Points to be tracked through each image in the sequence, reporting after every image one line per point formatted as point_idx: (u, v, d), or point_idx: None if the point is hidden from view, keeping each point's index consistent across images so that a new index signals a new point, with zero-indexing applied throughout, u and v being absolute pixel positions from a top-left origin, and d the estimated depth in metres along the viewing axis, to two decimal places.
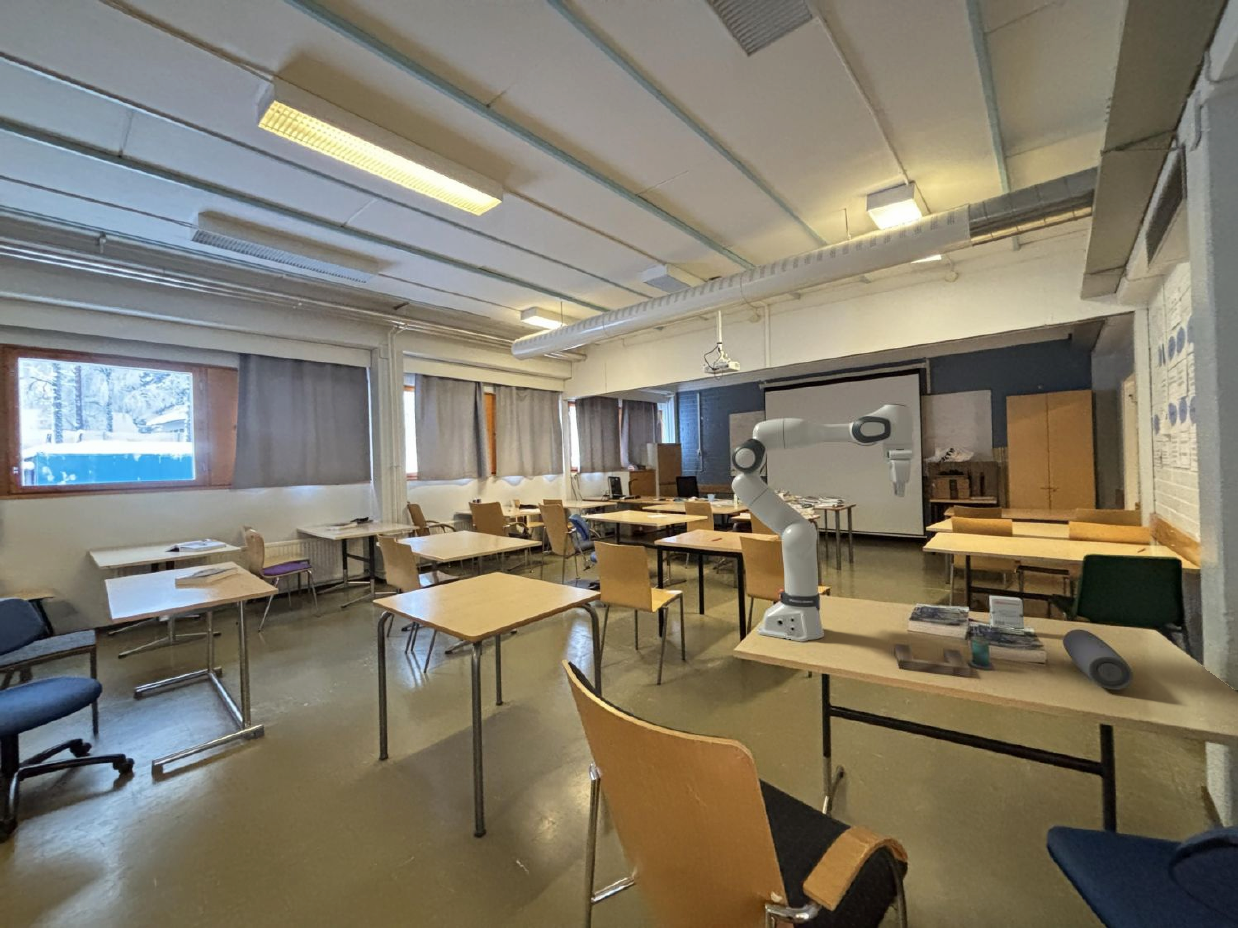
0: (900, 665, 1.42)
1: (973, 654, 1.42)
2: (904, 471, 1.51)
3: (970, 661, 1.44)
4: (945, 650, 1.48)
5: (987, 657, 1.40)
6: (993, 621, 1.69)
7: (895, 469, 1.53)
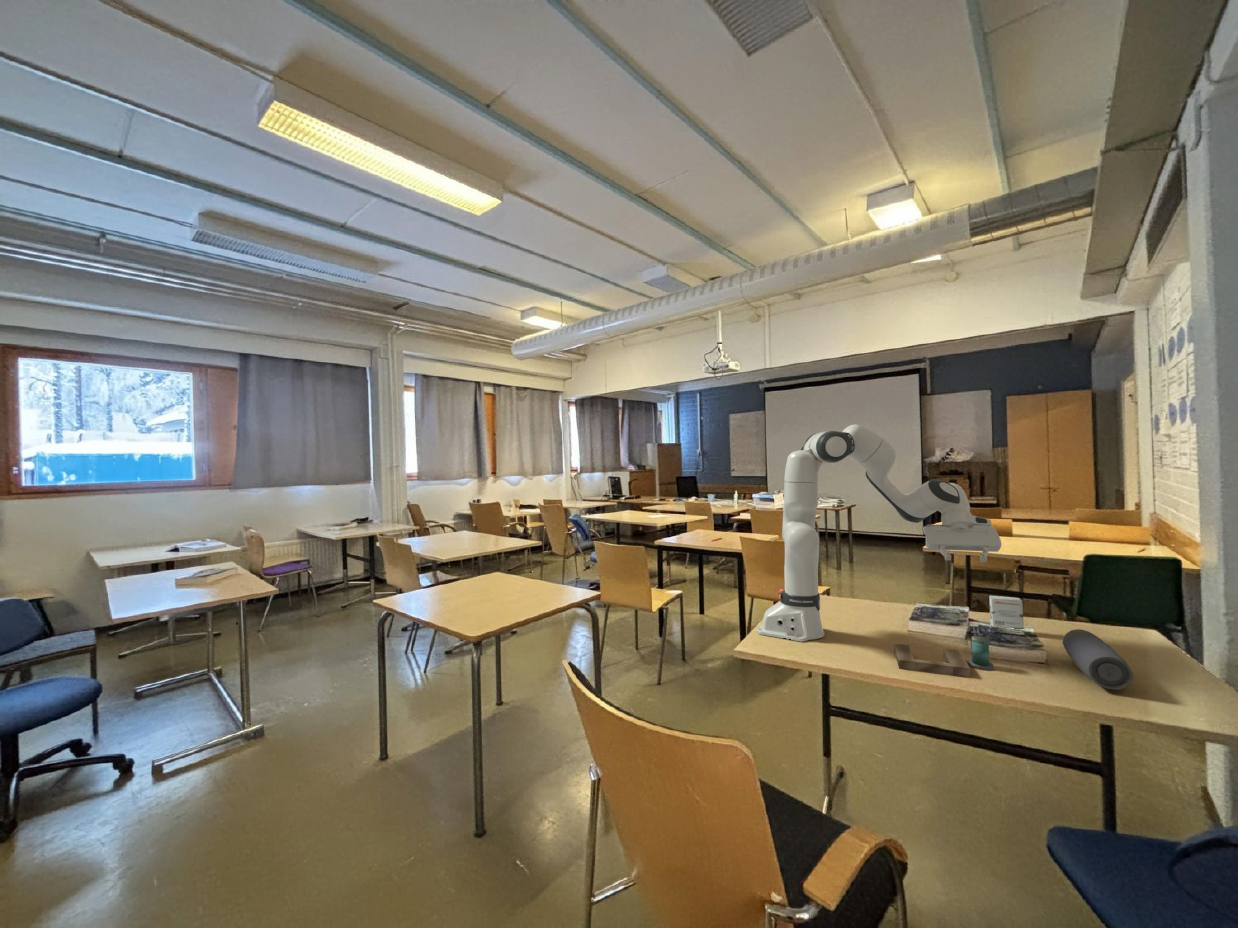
0: (900, 665, 1.42)
1: (973, 654, 1.42)
2: None
3: (970, 661, 1.44)
4: (945, 650, 1.48)
5: (987, 657, 1.40)
6: (993, 621, 1.69)
7: None
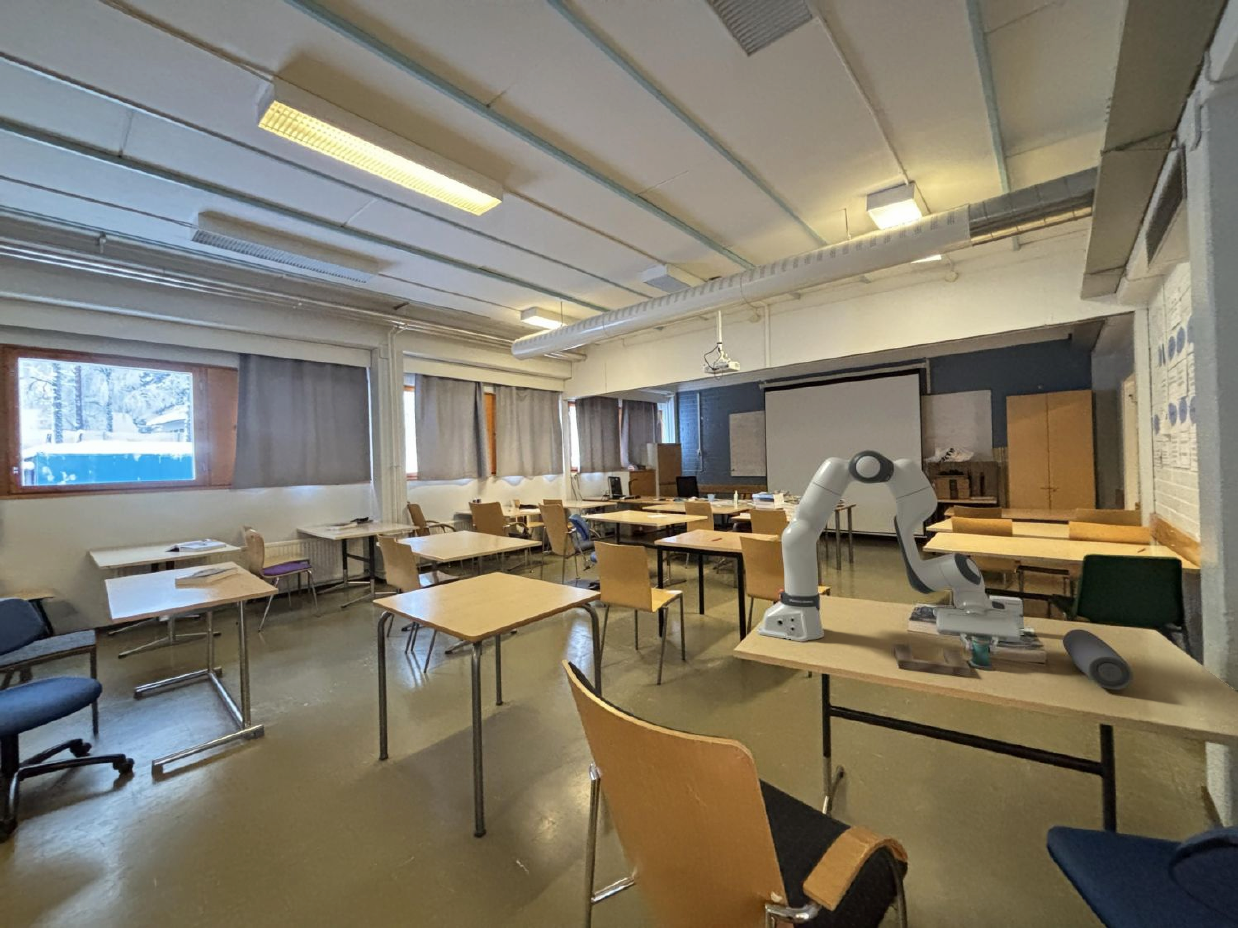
0: (900, 665, 1.42)
1: (973, 654, 1.42)
2: None
3: (970, 661, 1.44)
4: (945, 650, 1.48)
5: (987, 657, 1.40)
6: None
7: None
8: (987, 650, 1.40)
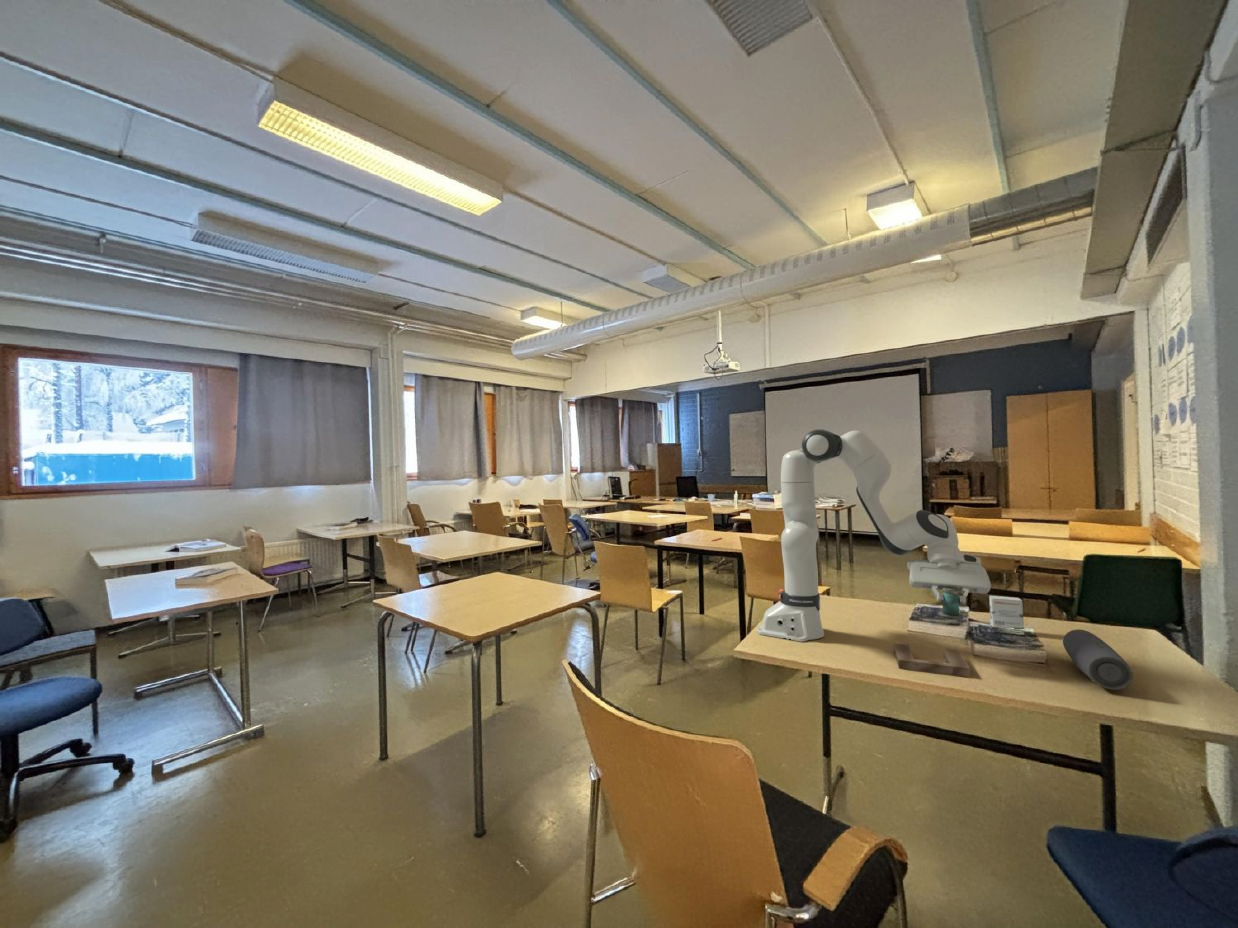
0: (900, 665, 1.42)
1: (943, 604, 1.44)
2: None
3: (941, 612, 1.46)
4: (945, 650, 1.48)
5: (957, 607, 1.42)
6: (993, 621, 1.69)
7: None
8: (957, 600, 1.42)
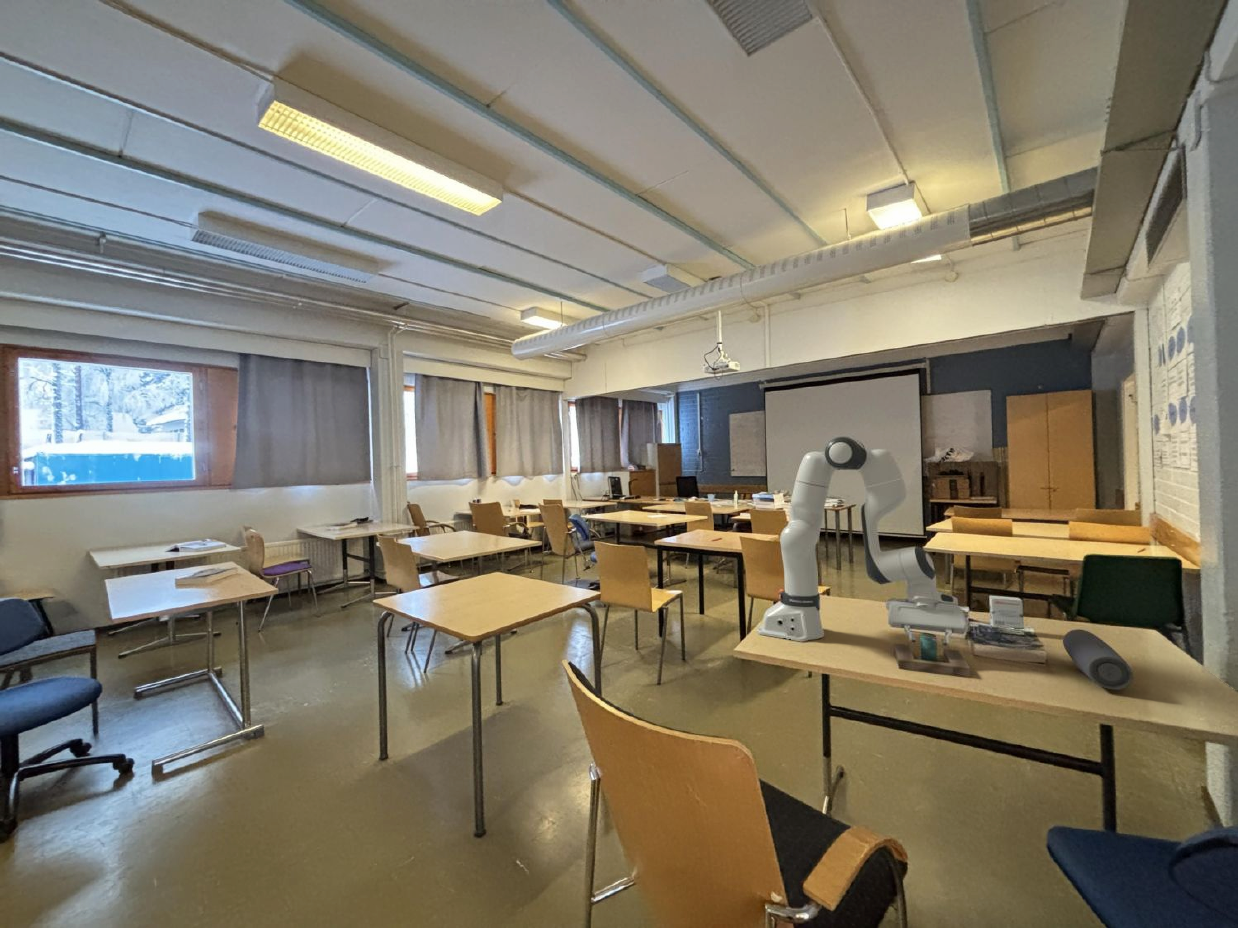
0: (900, 665, 1.42)
1: (921, 650, 1.46)
2: None
3: (919, 657, 1.47)
4: (945, 650, 1.48)
5: (934, 654, 1.44)
6: (993, 621, 1.69)
7: (964, 615, 1.45)
8: (934, 647, 1.44)
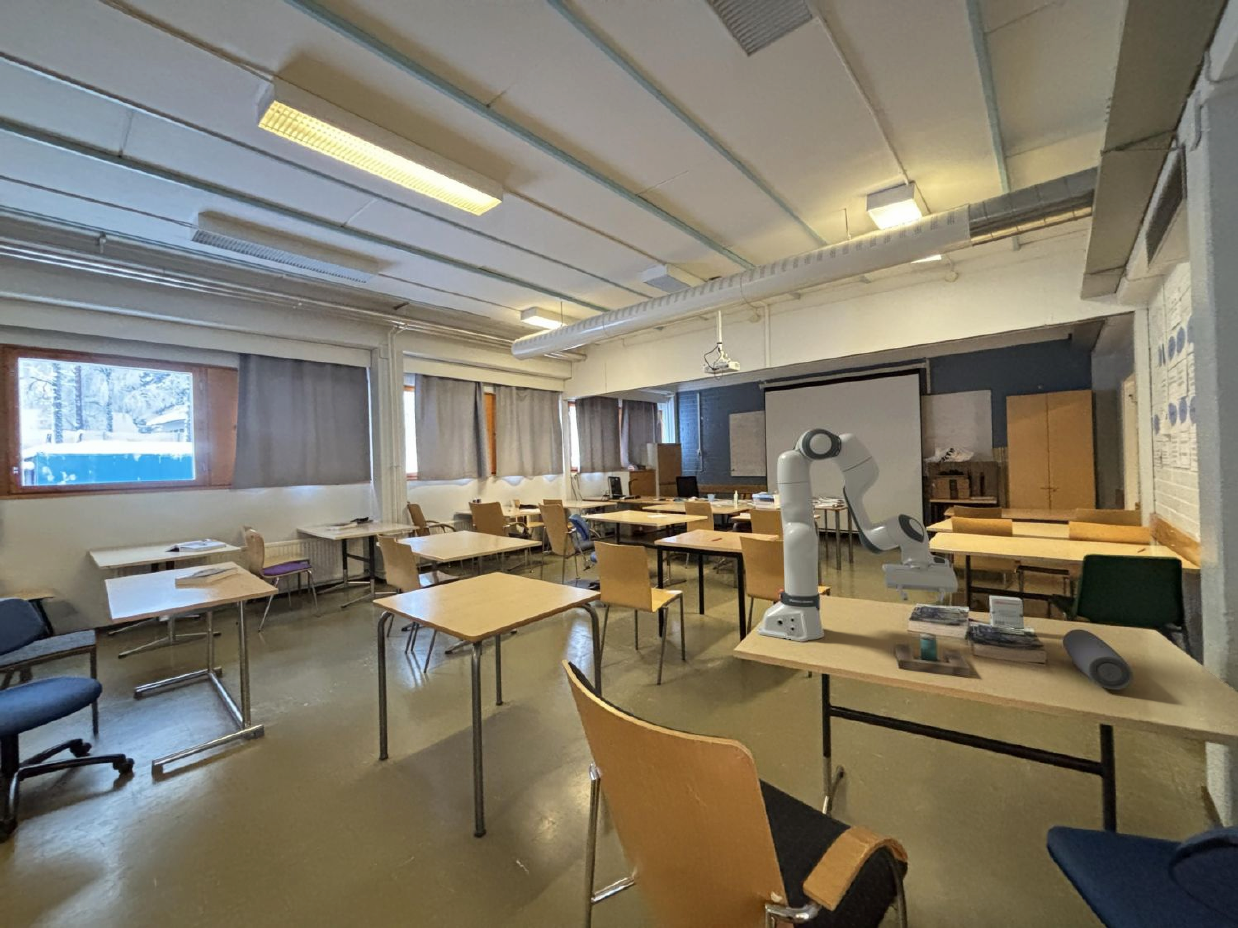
0: (900, 665, 1.42)
1: (921, 650, 1.46)
2: None
3: (919, 657, 1.47)
4: (945, 650, 1.48)
5: (934, 653, 1.44)
6: (993, 621, 1.69)
7: None
8: (934, 647, 1.44)
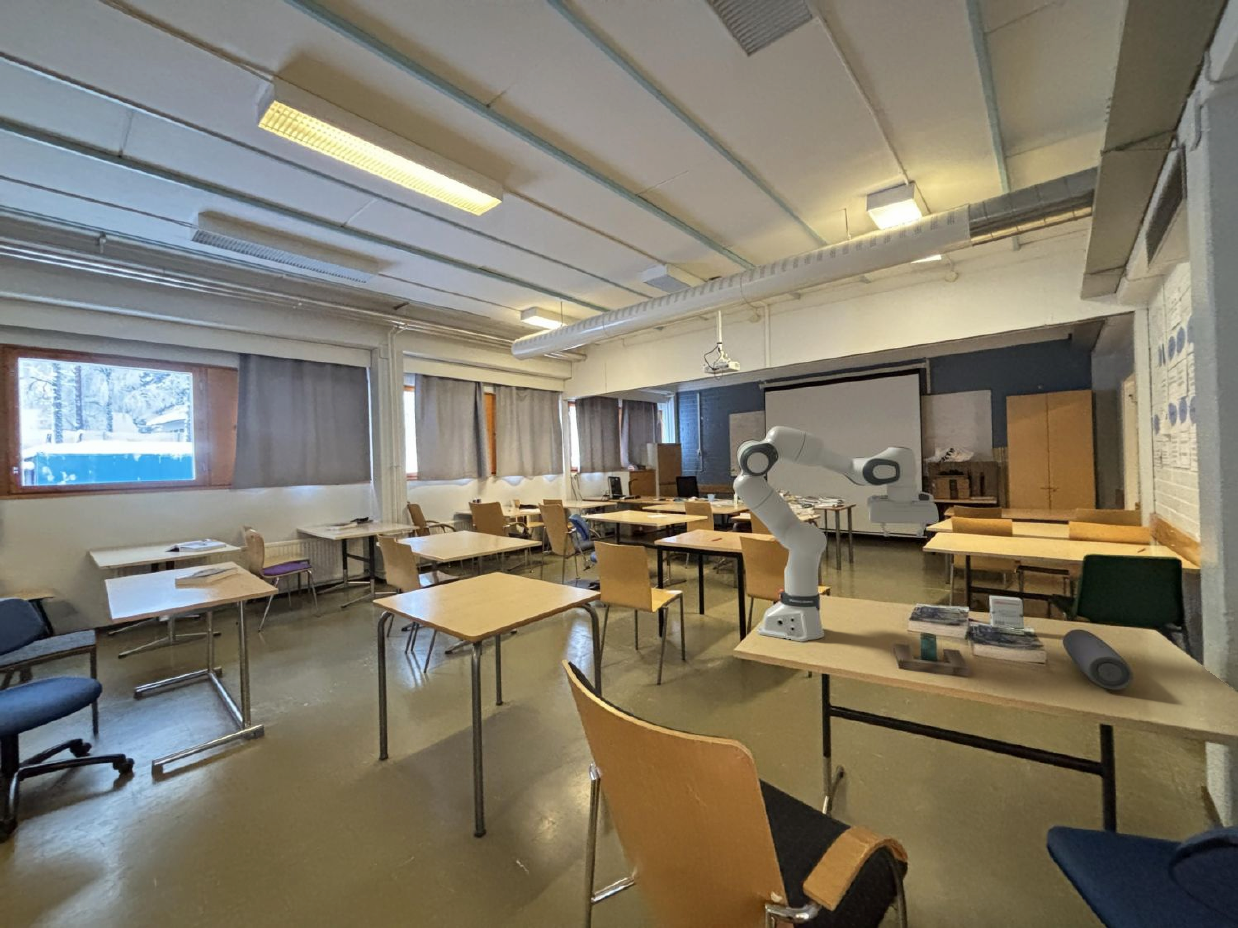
0: (900, 665, 1.42)
1: (921, 650, 1.46)
2: None
3: (919, 657, 1.47)
4: (945, 650, 1.48)
5: (934, 653, 1.44)
6: (993, 621, 1.69)
7: (937, 511, 1.59)
8: (934, 647, 1.44)
